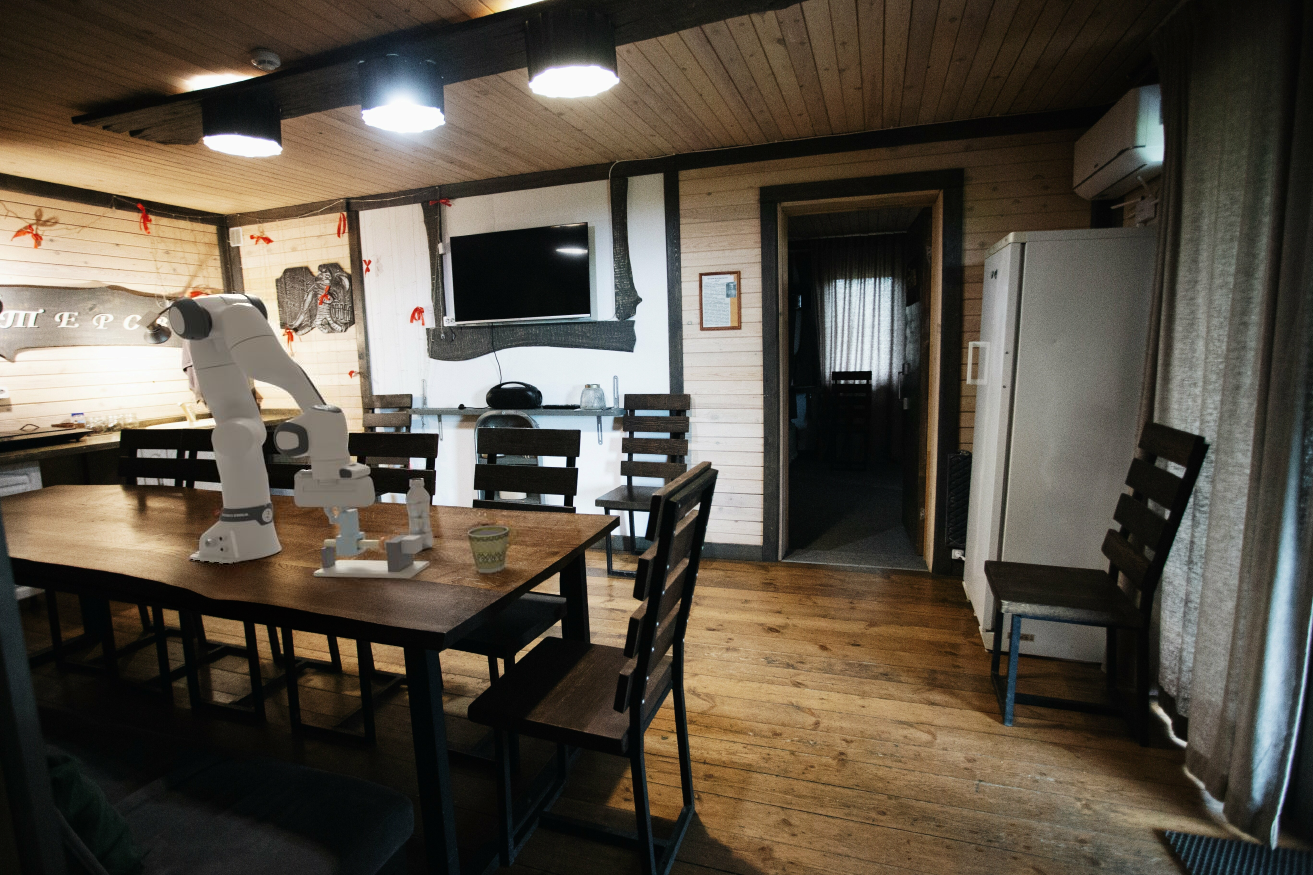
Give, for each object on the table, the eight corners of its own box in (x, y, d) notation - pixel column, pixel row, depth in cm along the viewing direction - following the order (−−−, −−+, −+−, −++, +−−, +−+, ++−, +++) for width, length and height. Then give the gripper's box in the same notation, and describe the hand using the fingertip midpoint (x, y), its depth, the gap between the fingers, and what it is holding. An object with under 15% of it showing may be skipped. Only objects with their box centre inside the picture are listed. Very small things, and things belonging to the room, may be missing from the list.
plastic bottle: (426, 552, 178) (421, 481, 175) (404, 551, 179) (398, 481, 177) (438, 546, 184) (433, 477, 182) (417, 545, 185) (412, 477, 183)
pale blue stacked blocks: (336, 555, 161) (333, 513, 160) (348, 549, 166) (344, 509, 165) (355, 555, 161) (351, 513, 159) (366, 550, 165) (362, 509, 164)
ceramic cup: (476, 578, 155) (474, 538, 154) (465, 567, 164) (462, 529, 163) (527, 568, 162) (525, 529, 161) (514, 558, 171) (512, 521, 169)
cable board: (313, 576, 160) (310, 541, 159) (338, 563, 170) (335, 531, 169) (410, 578, 157) (407, 543, 156) (429, 565, 166) (427, 532, 165)
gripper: (285, 472, 159) (290, 526, 161) (361, 471, 156) (366, 526, 158) (302, 467, 166) (307, 520, 167) (376, 467, 163) (380, 520, 164)
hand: (336, 523), depth 163 cm, fingers closed
